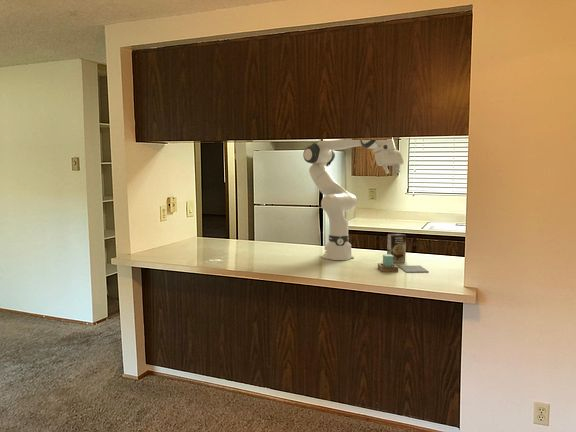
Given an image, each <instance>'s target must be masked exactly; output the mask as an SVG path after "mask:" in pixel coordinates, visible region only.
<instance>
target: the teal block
mask: <svg viewBox="0 0 576 432" xmlns="http://www.w3.org/2000/svg"><path fill="white" fill-rule="evenodd" d="M382 263H383V267H393V255H391V254H388V255H387V254H382Z"/></svg>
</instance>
